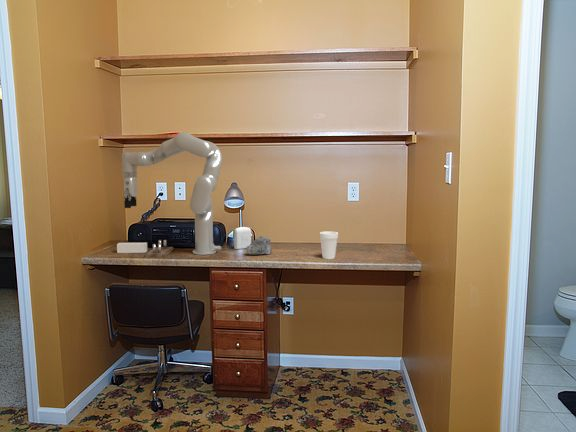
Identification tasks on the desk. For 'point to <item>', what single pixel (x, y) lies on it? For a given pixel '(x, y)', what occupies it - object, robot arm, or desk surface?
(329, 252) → the foam cup
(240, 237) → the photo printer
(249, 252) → the mineral rock
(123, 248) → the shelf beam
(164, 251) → the peg stand
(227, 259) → the desk surface
